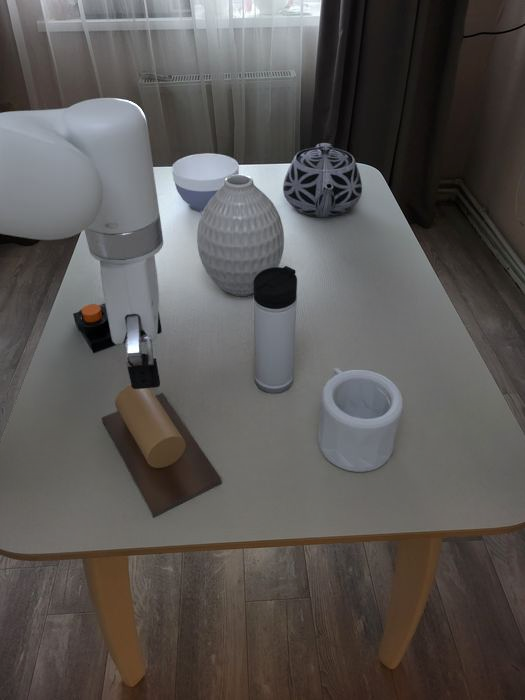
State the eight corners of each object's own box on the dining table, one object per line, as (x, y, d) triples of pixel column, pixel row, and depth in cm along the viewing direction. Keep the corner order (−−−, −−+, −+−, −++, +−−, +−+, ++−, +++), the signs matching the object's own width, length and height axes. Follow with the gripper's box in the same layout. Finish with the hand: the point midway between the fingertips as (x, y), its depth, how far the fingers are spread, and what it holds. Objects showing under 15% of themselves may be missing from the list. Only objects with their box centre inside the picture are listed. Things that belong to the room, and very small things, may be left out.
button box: (89, 354, 95) (84, 336, 93) (71, 324, 102) (66, 306, 99) (147, 334, 100) (144, 316, 97) (126, 305, 106) (123, 288, 104)
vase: (287, 267, 116) (290, 163, 101) (277, 314, 104) (279, 204, 89) (211, 261, 118) (203, 159, 103) (192, 306, 106) (181, 197, 91)
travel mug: (302, 378, 91) (308, 275, 78) (275, 399, 87) (277, 295, 74) (273, 361, 94) (275, 259, 81) (246, 381, 90) (243, 277, 77)
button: (87, 325, 96) (84, 317, 95) (81, 315, 98) (79, 307, 97) (105, 319, 97) (103, 311, 96) (98, 309, 99) (96, 302, 98)
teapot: (283, 238, 125) (285, 174, 116) (281, 180, 149) (283, 123, 139) (368, 238, 125) (377, 174, 115) (353, 180, 148) (359, 123, 139)
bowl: (187, 187, 146) (183, 151, 139) (246, 192, 143) (245, 155, 137) (167, 215, 134) (162, 177, 128) (231, 221, 131) (229, 182, 125)
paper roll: (150, 474, 75) (144, 447, 72) (118, 417, 83) (111, 391, 79) (187, 456, 78) (183, 430, 74) (153, 403, 85) (148, 377, 82)
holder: (153, 518, 71) (152, 513, 71) (102, 422, 84) (101, 417, 83) (221, 483, 75) (221, 479, 75) (163, 397, 88) (162, 392, 87)
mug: (407, 460, 78) (420, 412, 72) (338, 483, 75) (344, 435, 69) (361, 396, 88) (368, 348, 81) (298, 414, 85) (301, 366, 78)
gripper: (95, 196, 62) (121, 317, 74) (75, 283, 49) (110, 413, 61) (163, 193, 63) (178, 313, 74) (160, 277, 50) (179, 407, 61)
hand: (148, 358), depth 68 cm, fingers open, 9 cm apart
